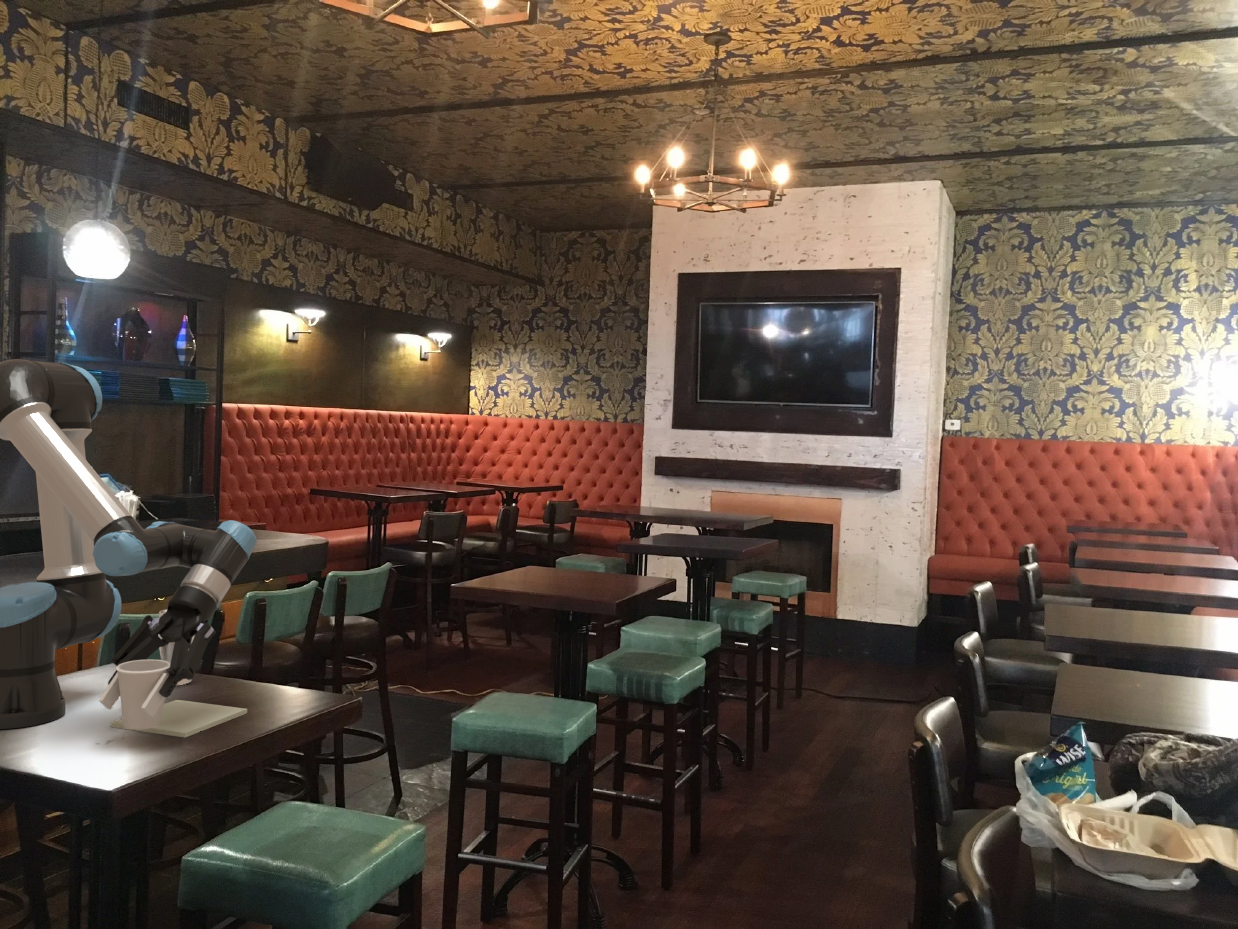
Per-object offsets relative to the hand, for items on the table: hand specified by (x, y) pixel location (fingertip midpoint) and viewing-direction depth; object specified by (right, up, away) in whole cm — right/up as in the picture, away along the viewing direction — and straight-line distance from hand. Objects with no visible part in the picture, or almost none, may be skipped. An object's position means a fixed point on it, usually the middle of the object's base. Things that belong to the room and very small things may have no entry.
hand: (125, 708), depth 162 cm
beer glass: (-10, -5, +42) cm, 43 cm away
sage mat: (+2, -6, +17) cm, 18 cm away
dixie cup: (+1, -4, +4) cm, 5 cm away
